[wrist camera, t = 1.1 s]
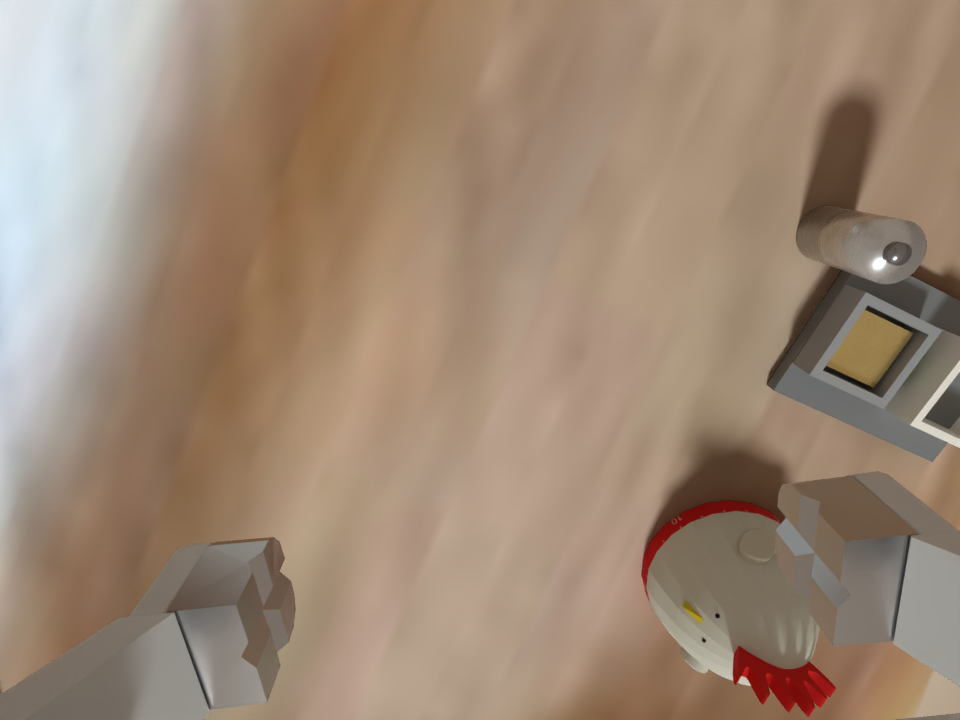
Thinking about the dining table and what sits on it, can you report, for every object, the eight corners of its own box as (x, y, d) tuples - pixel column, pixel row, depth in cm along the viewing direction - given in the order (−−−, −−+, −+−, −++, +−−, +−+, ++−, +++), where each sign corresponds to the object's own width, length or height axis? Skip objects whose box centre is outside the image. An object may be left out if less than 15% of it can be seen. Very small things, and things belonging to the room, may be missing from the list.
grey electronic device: (855, 250, 46) (897, 262, 41) (1018, 332, 48) (1074, 352, 44) (766, 384, 49) (796, 408, 45) (922, 454, 52) (964, 484, 47)
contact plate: (856, 305, 45) (861, 307, 44) (907, 330, 46) (913, 333, 45) (818, 361, 46) (822, 363, 46) (868, 384, 47) (873, 387, 47)
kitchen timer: (678, 483, 53) (755, 610, 38) (819, 521, 54) (943, 656, 40) (619, 606, 57) (669, 760, 43) (751, 637, 59) (841, 795, 45)
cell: (816, 196, 44) (894, 210, 36) (860, 219, 45) (947, 238, 37) (785, 246, 45) (854, 270, 37) (829, 268, 46) (905, 296, 38)
